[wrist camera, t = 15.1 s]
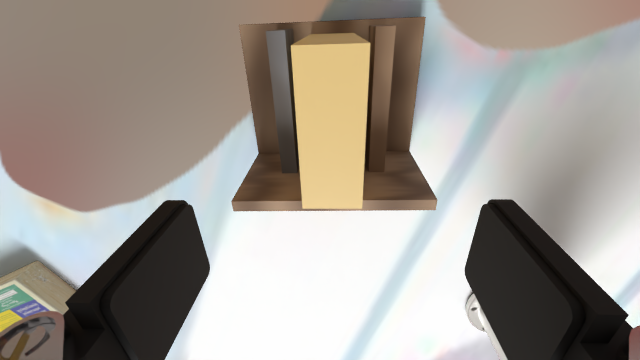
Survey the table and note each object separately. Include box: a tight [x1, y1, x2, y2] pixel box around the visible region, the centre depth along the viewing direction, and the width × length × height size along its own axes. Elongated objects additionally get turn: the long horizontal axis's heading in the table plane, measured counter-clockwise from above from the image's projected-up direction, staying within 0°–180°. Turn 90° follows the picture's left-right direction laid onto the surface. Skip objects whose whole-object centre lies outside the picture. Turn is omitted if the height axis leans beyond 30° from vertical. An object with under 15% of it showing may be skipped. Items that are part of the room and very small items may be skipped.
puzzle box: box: [0, 261, 76, 332], centre depth 53 cm, size 36×5×24 cm
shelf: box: [231, 17, 437, 211], centre depth 26 cm, size 17×14×12 cm
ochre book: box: [291, 33, 370, 209], centre depth 23 cm, size 4×10×14 cm, turn 2°
